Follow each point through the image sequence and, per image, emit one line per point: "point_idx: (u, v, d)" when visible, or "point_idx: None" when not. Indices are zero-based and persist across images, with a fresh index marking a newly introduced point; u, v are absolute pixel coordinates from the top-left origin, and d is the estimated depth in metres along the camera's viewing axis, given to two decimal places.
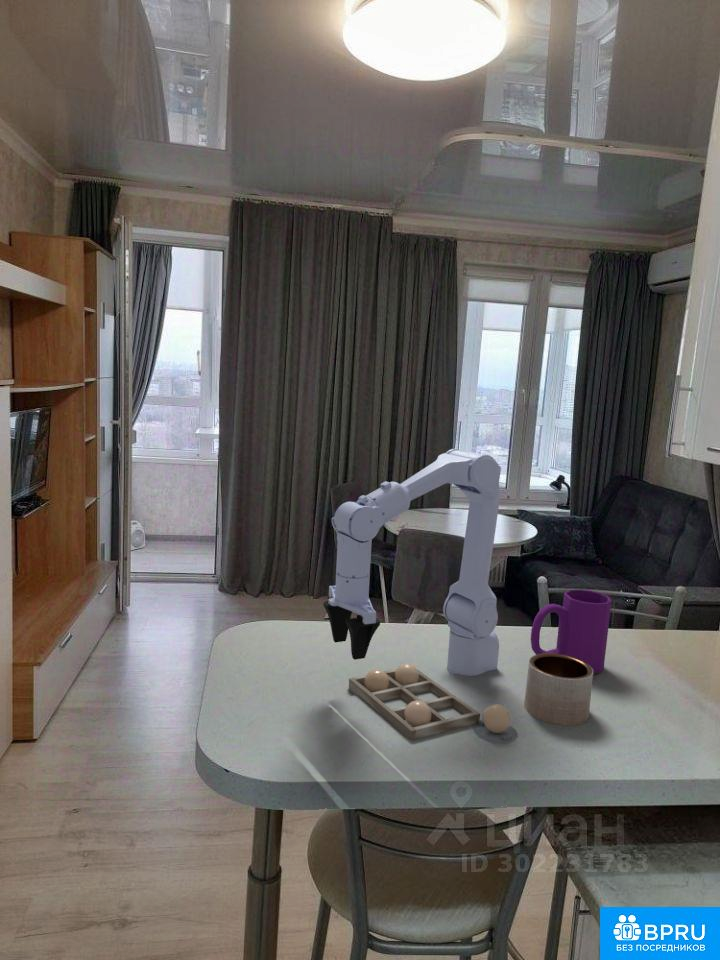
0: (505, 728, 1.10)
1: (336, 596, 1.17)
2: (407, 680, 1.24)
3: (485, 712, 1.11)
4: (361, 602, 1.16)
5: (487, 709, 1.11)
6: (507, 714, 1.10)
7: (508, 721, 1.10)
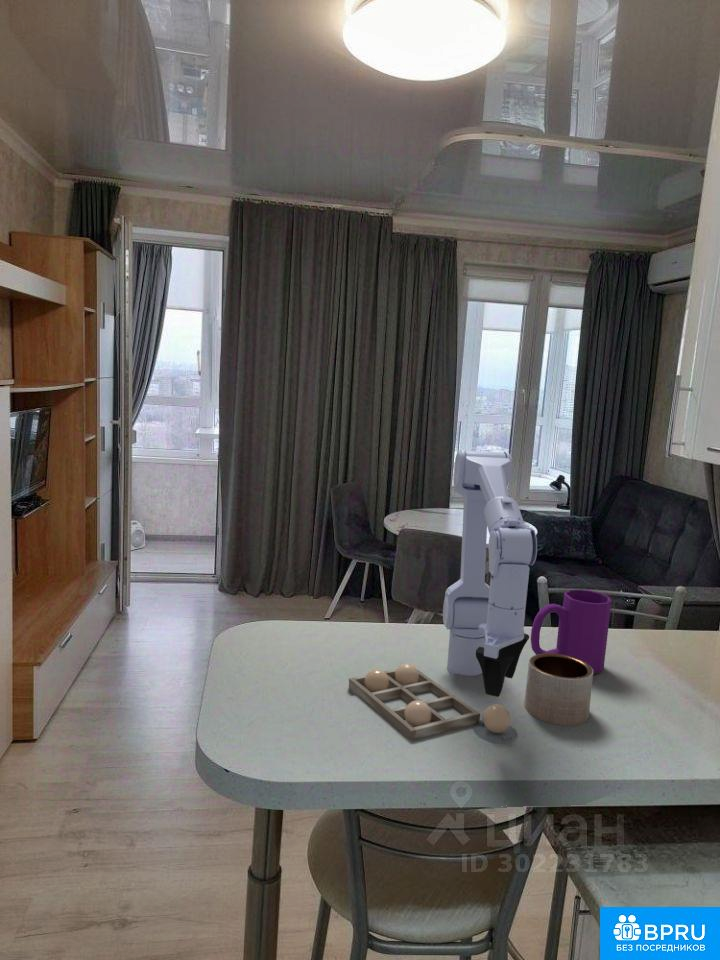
0: (505, 728, 1.10)
1: None
2: (407, 680, 1.24)
3: (485, 712, 1.11)
4: (502, 635, 1.06)
5: (487, 709, 1.11)
6: (507, 714, 1.10)
7: (508, 721, 1.10)
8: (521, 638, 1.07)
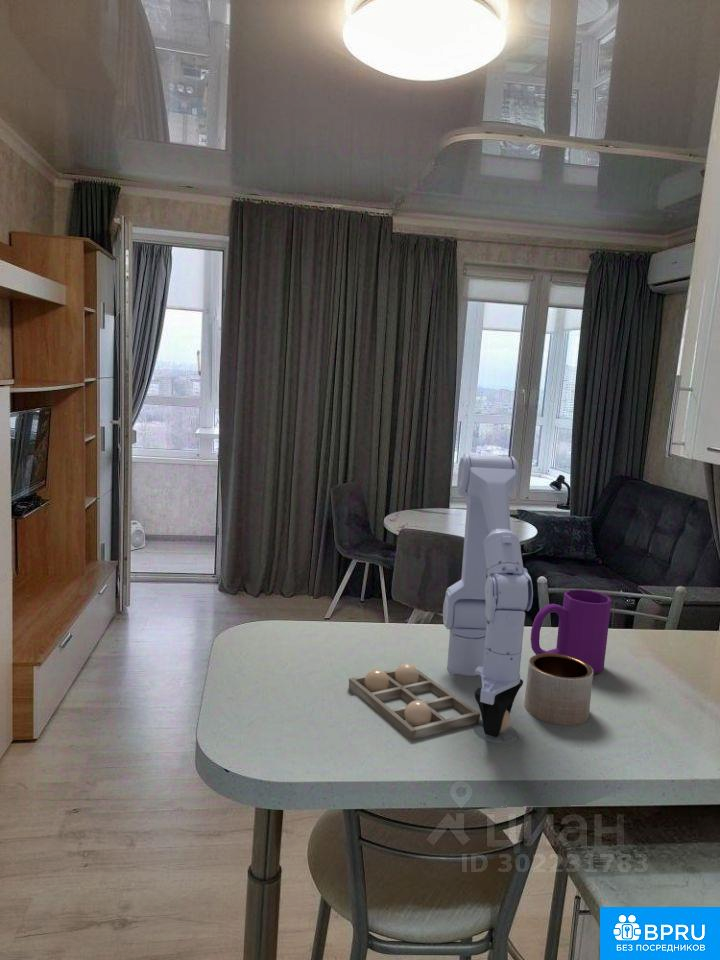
0: (505, 728, 1.10)
1: None
2: (407, 680, 1.24)
3: None
4: (498, 680, 1.08)
5: None
6: (507, 714, 1.10)
7: (508, 721, 1.10)
8: (517, 683, 1.08)
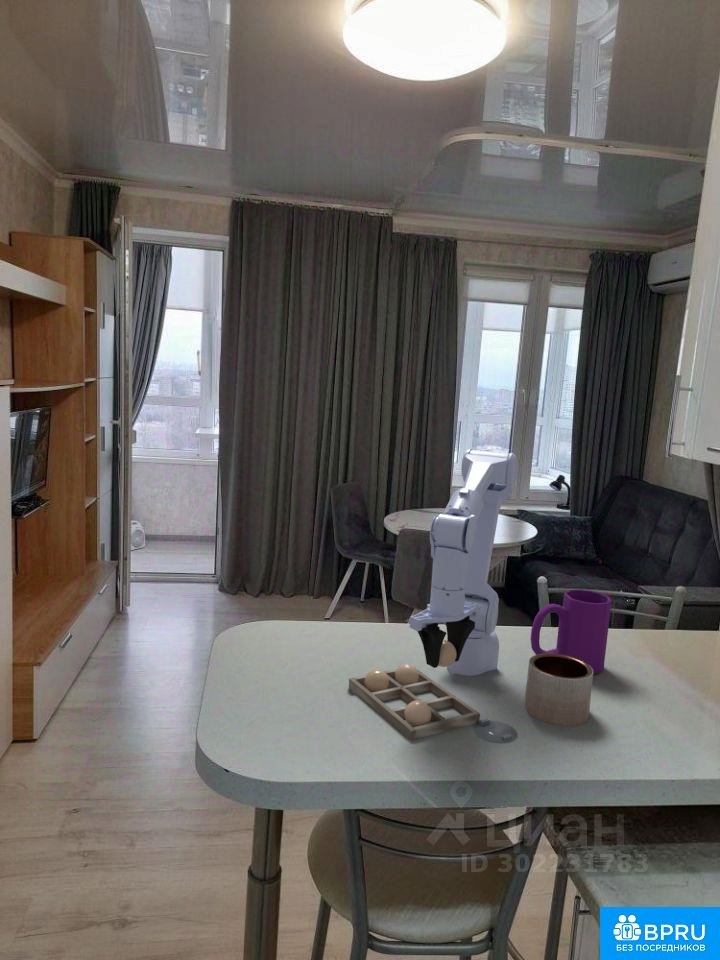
0: (446, 662, 1.16)
1: None
2: (407, 680, 1.24)
3: None
4: (436, 613, 1.15)
5: None
6: (450, 650, 1.16)
7: (449, 656, 1.16)
8: (455, 619, 1.14)
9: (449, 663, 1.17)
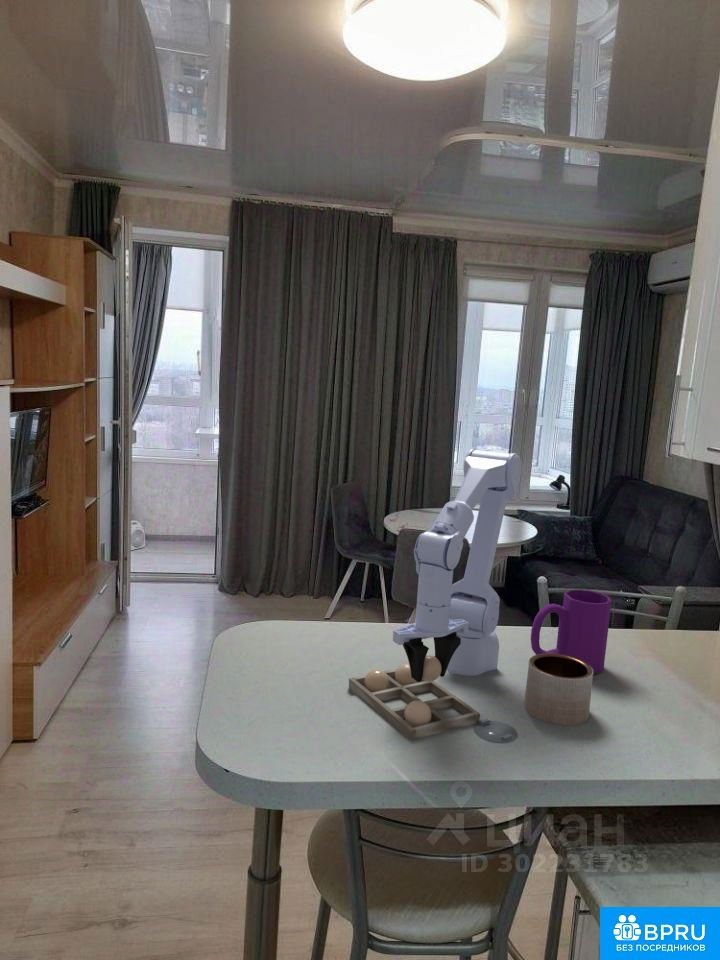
0: (429, 677, 1.19)
1: None
2: (407, 680, 1.24)
3: None
4: (419, 628, 1.17)
5: None
6: (434, 665, 1.19)
7: (433, 671, 1.18)
8: (438, 635, 1.16)
9: (433, 678, 1.19)
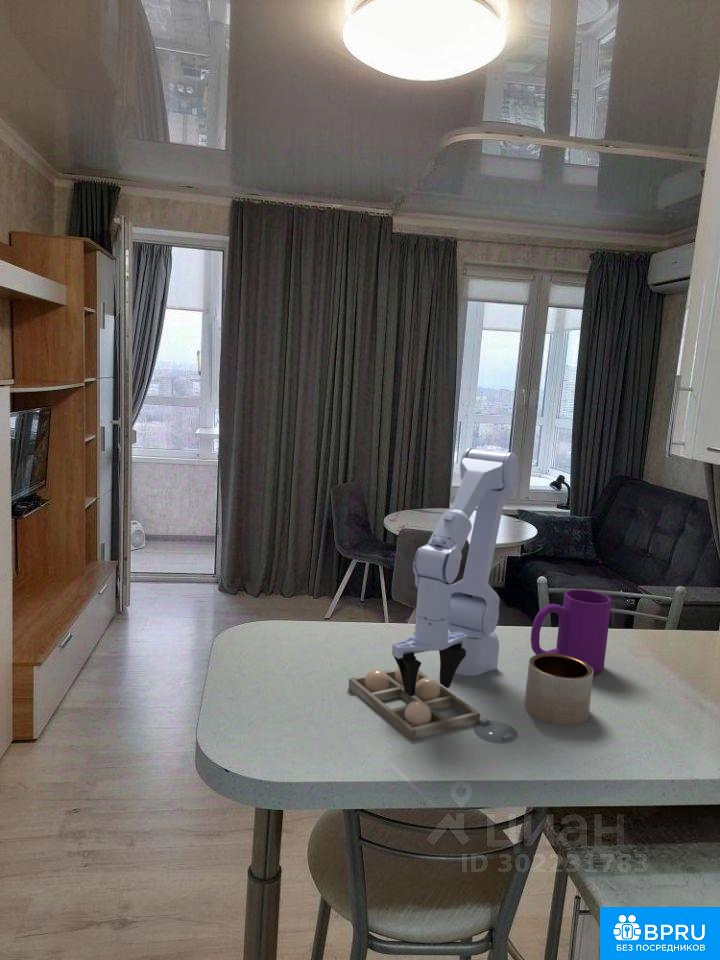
0: (428, 699, 1.19)
1: None
2: None
3: (417, 682, 1.22)
4: (419, 641, 1.18)
5: (419, 680, 1.22)
6: (432, 687, 1.19)
7: (431, 694, 1.19)
8: (437, 648, 1.17)
9: None
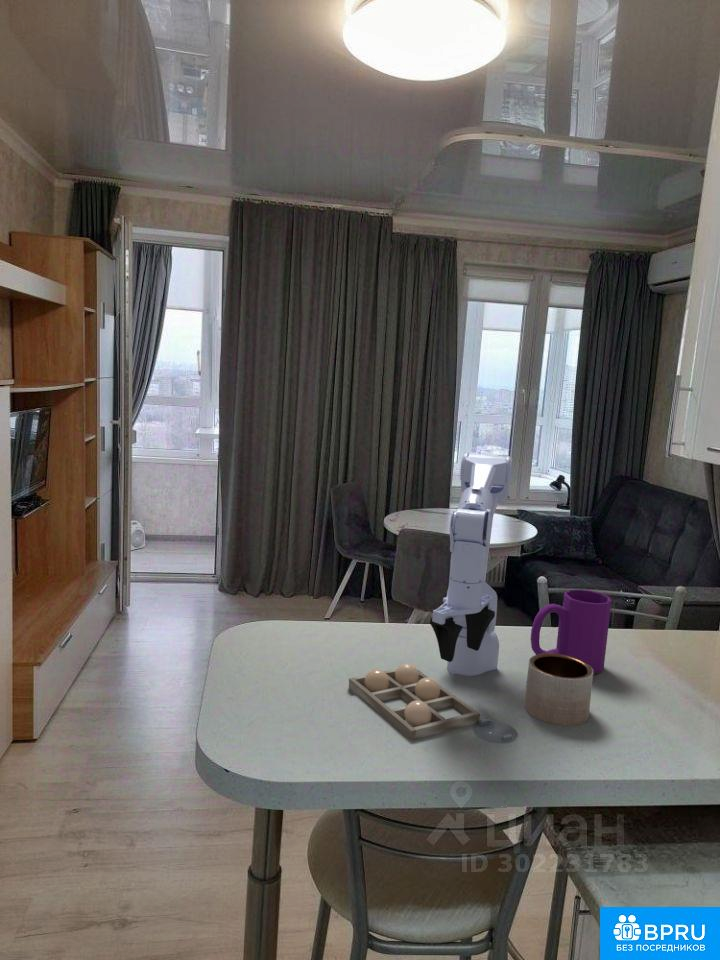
0: (428, 699, 1.19)
1: None
2: (407, 680, 1.24)
3: (417, 682, 1.22)
4: (456, 606, 1.17)
5: (420, 680, 1.22)
6: (432, 687, 1.19)
7: (432, 694, 1.19)
8: (475, 611, 1.17)
9: None
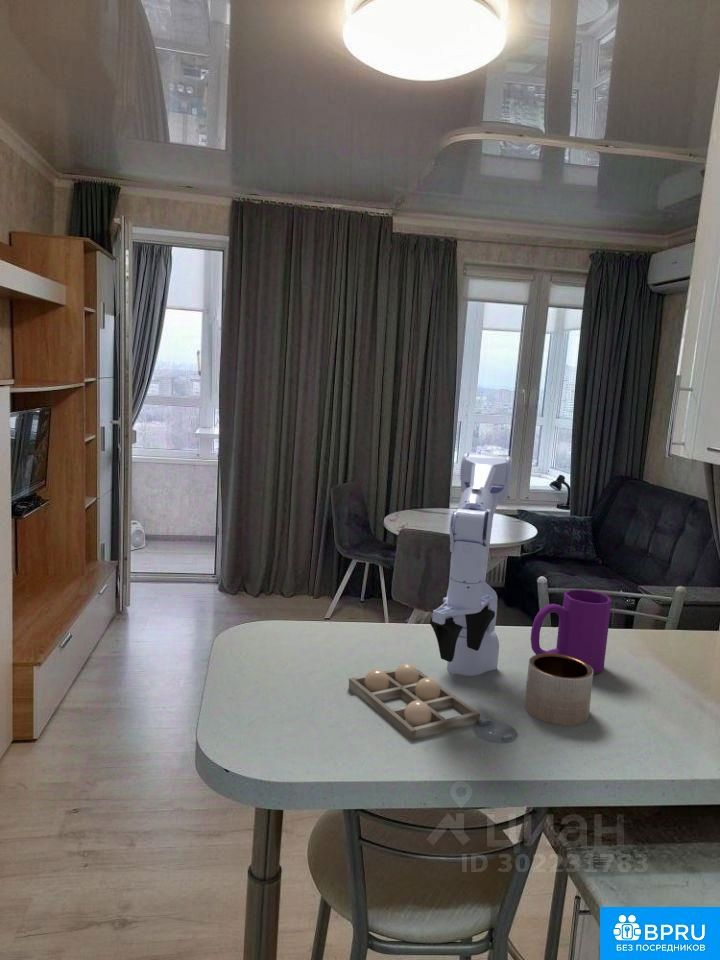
0: (428, 699, 1.19)
1: None
2: (407, 680, 1.24)
3: (418, 682, 1.22)
4: (456, 606, 1.17)
5: None
6: (433, 687, 1.19)
7: (432, 694, 1.19)
8: (475, 611, 1.17)
9: None
